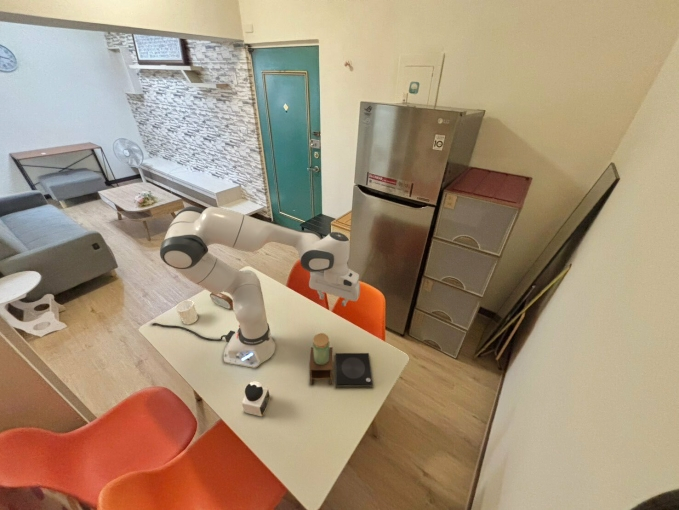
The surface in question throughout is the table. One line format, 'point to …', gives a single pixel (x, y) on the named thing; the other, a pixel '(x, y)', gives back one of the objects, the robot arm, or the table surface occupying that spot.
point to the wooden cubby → (321, 368)
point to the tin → (222, 300)
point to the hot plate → (353, 370)
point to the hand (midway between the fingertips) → (332, 301)
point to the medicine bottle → (255, 398)
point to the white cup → (187, 311)
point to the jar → (321, 349)
